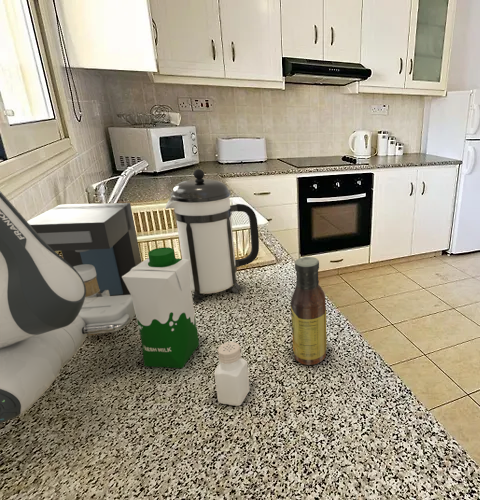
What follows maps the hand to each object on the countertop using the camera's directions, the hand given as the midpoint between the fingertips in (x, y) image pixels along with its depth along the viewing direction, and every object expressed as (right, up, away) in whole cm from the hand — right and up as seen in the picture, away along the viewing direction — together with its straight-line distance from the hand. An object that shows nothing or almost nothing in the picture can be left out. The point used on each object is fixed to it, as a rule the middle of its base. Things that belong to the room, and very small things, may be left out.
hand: (88, 294), depth 72 cm
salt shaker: (+32, -15, -12) cm, 37 cm away
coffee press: (+17, -1, +23) cm, 28 cm away
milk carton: (+17, -11, -3) cm, 21 cm away
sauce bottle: (+43, -12, -2) cm, 45 cm away
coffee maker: (-1, -7, +7) cm, 10 cm away
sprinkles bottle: (0, -8, +2) cm, 8 cm away
